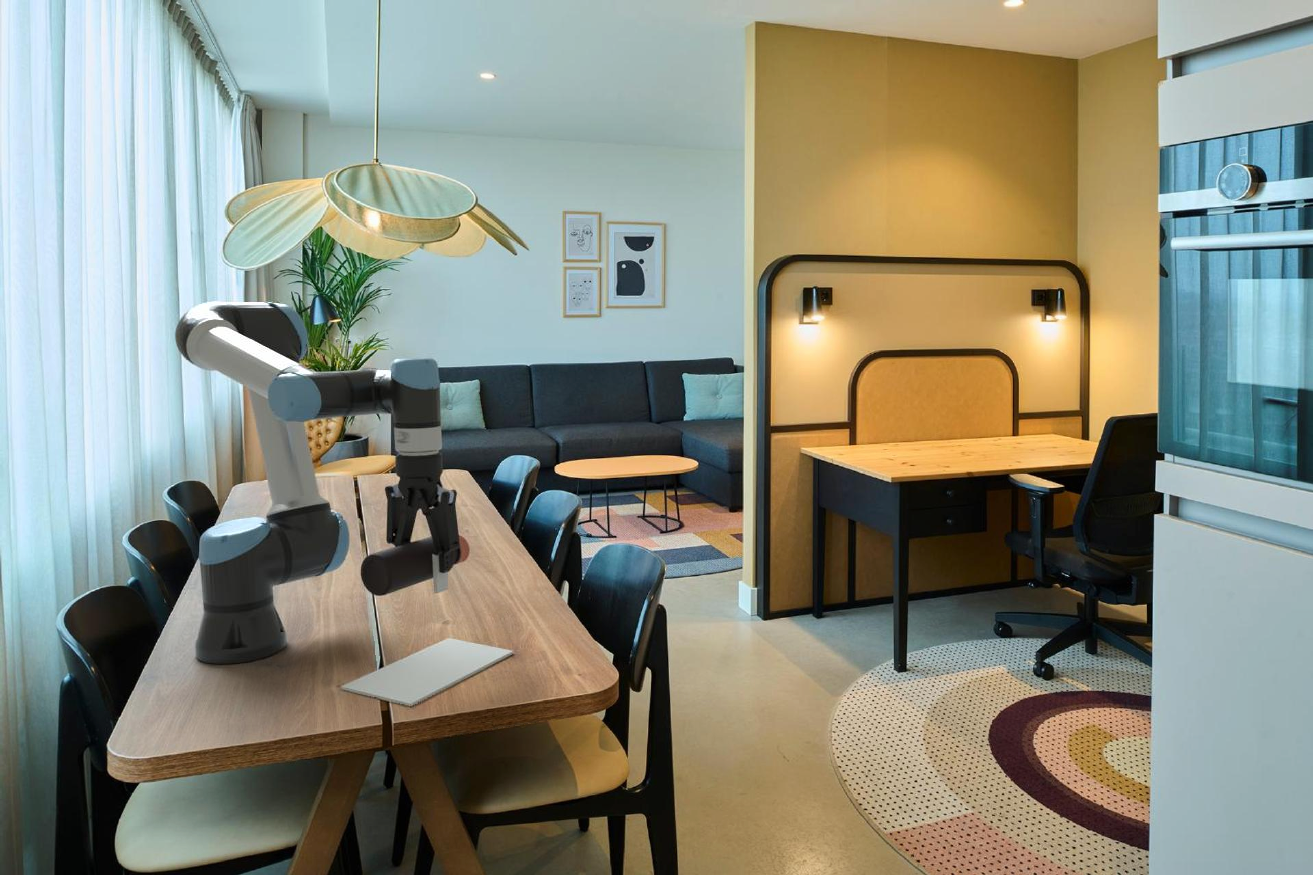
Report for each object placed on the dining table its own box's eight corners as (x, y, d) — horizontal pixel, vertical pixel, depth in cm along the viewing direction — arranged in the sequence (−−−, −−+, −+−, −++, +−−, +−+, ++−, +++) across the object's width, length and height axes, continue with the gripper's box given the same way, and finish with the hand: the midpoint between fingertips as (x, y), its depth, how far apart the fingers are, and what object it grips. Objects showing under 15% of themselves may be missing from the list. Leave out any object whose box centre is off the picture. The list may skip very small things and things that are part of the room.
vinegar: (353, 577, 147) (438, 550, 165) (380, 605, 145) (464, 575, 162) (369, 545, 145) (453, 521, 162) (397, 572, 143) (480, 545, 160)
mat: (341, 689, 150) (341, 686, 150) (448, 640, 172) (448, 637, 172) (411, 706, 143) (410, 703, 143) (513, 653, 165) (513, 650, 165)
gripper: (358, 451, 153) (365, 586, 156) (449, 458, 144) (454, 601, 147) (391, 446, 160) (397, 575, 163) (480, 452, 151) (484, 589, 154)
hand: (424, 588), depth 155 cm, fingers closed on vinegar, 6 cm apart
